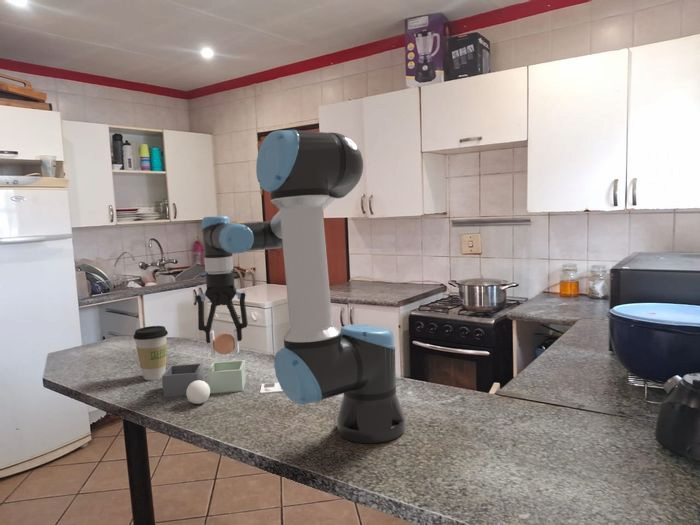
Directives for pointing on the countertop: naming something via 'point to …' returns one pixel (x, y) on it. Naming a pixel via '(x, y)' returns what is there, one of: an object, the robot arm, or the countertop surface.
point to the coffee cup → (152, 351)
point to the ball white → (198, 392)
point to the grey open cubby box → (181, 378)
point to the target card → (271, 388)
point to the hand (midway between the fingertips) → (225, 352)
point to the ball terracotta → (224, 343)
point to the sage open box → (226, 376)
